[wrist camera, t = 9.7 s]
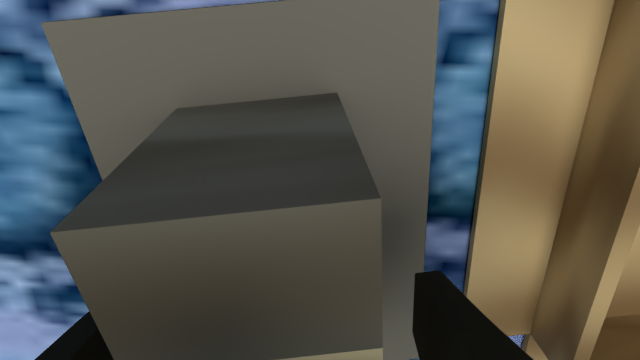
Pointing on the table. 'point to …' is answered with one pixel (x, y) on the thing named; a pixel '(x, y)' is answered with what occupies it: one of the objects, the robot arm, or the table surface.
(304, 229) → the capped block
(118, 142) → the gray panel
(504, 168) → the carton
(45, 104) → the table surface
